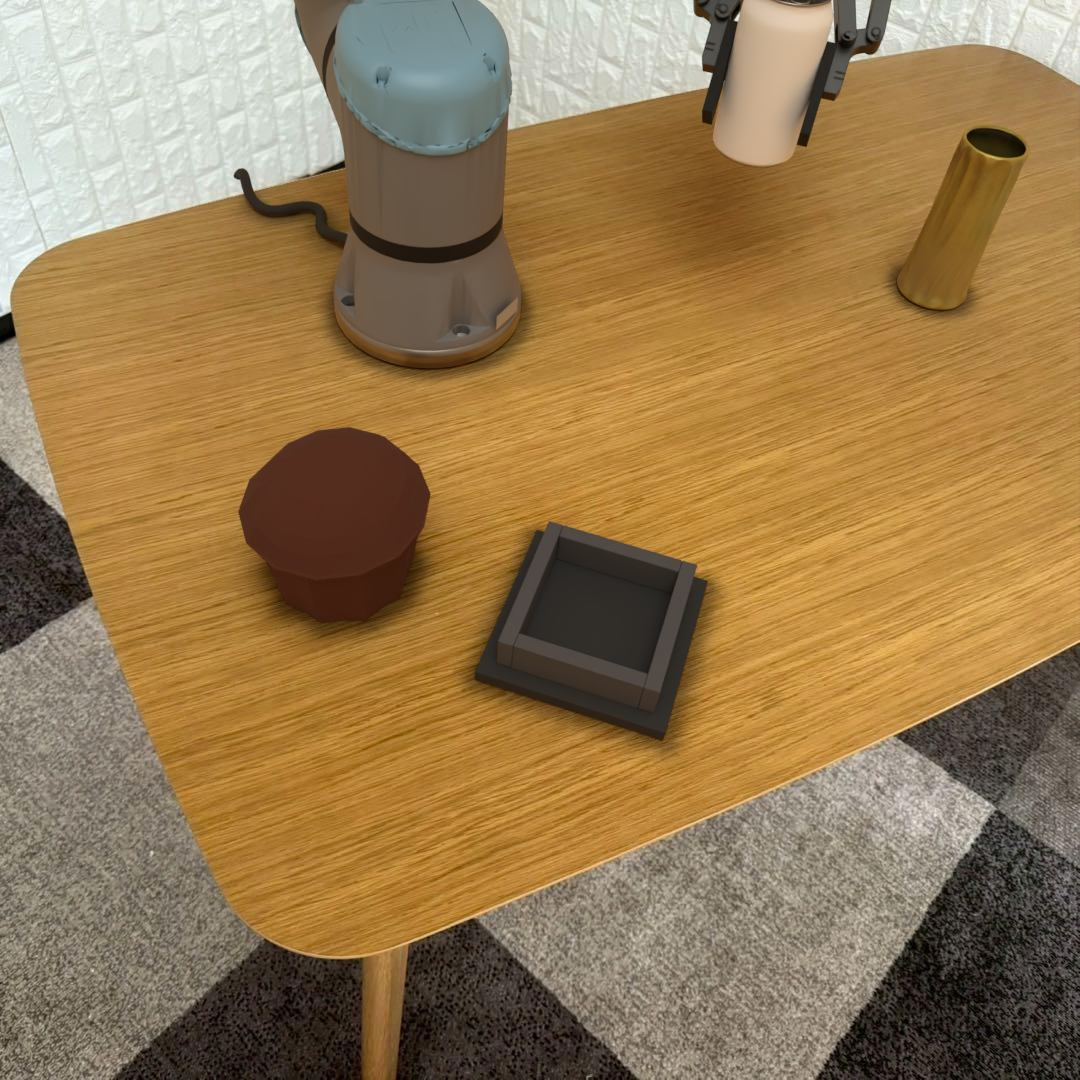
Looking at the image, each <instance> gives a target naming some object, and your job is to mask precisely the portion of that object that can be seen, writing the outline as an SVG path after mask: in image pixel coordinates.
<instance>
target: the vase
mask: <svg viewBox="0 0 1080 1080" xmlns="http://www.w3.org/2000/svg"><path fill="white" fill-rule="evenodd" d="M1030 153H1031V148H1030V144H1029V142H1028V141H1027V139H1026V138H1024V136H1022V135H1021V134H1020V133H1018V132H1016V131H1014V130H1012V129H1009V128H1007V127H1005V126H1000V125H995V124H974V125H972V126H969V127H968V128H967V129H965V130H964V132H963V133H962V136H961V138H960V140H959V142H958V144H957V146H956V149H955V151H954V153H953V155H952V158H951V159H950V160H951V161H950V163H949V164H948V166H947V170H946V172H945V174H944V177H943V179H942V181H941V183H940V187H939V188H938V191H937V193H936V196H935V198H934V200H933V203H932V205H931V207H930V210H929V212H928V215H927V216H926V219H925V220H924V223H923V226H922V228H921V229H920V231H919V234H918V236H917V237H916V240H915V242H914V244H913V246H912V248H911V250H910V252H909V254H908V257H907V259H906V260H905V262H904V265H903V267H902V269H901V271H900V272H899V273H898V275H897V277H896V284H897V288H898V290H899V292H900V293H901V294H902V295H903V296H904V297H905V299H907V300H908V301H910V302H912V303H913V304H915V305H918V306H919V307H922V308H925V309H930V310H934V311H935V310H936V311H937V310H938V311H947V310H949V311H950V310H953V309H956V308H958V307H959V306H961V305H962V304H963V303H964V302H965V300H966V298H967V295H968V290H969V287H970V285H971V283H972V280H973V278H974V276H975V273H976V271H977V269H978V267H979V264H980V263H981V260H982V258H983V255H984V253H985V251H986V248H987V246H988V244H989V241H990V239H991V236H992V234H993V232H994V230H995V228H996V225H997V223H998V222H999V219H1000V216H1001V214H1002V212H1003V210H1004V208H1005V206H1006V204H1007V202H1008V201H1009V198H1010V196H1011V193H1012V192H1013V189H1014V187H1015V185H1016V183H1017V181H1018V178H1019V176H1020V173H1021V171H1022V170H1023V166H1024V164H1025V162H1027V160H1028V158H1029V155H1030Z"/></svg>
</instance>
